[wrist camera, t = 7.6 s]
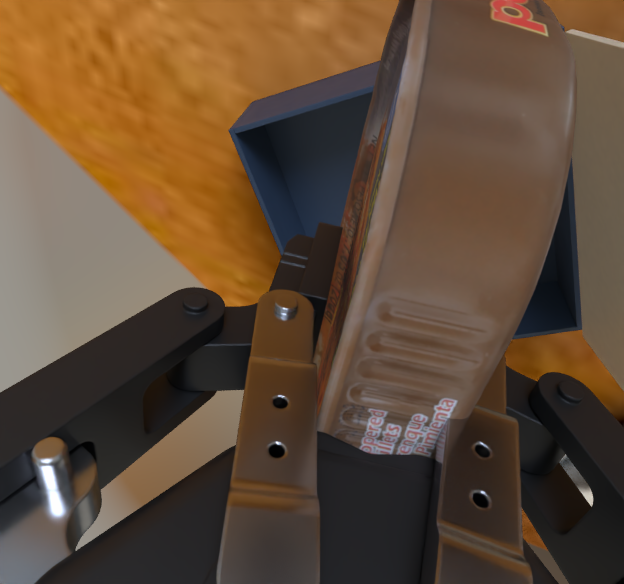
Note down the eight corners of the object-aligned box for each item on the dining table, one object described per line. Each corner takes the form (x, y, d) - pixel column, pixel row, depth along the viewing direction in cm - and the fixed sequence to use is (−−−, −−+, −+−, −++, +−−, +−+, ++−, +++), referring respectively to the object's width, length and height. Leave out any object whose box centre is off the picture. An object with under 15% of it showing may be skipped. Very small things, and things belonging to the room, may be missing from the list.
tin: (408, -56, 12) (375, -14, 5) (546, -24, 11) (710, 62, 5) (301, 387, 21) (239, 612, 14) (377, 407, 21) (351, 644, 14)
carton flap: (682, 64, 15) (695, 60, 15) (564, 31, 22) (572, 28, 22) (661, 443, 24) (669, 441, 24) (582, 336, 31) (588, 335, 31)
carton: (252, 101, 32) (228, 130, 27) (539, 9, 27) (564, 26, 22) (335, 319, 41) (327, 365, 37) (561, 281, 36) (582, 329, 32)
